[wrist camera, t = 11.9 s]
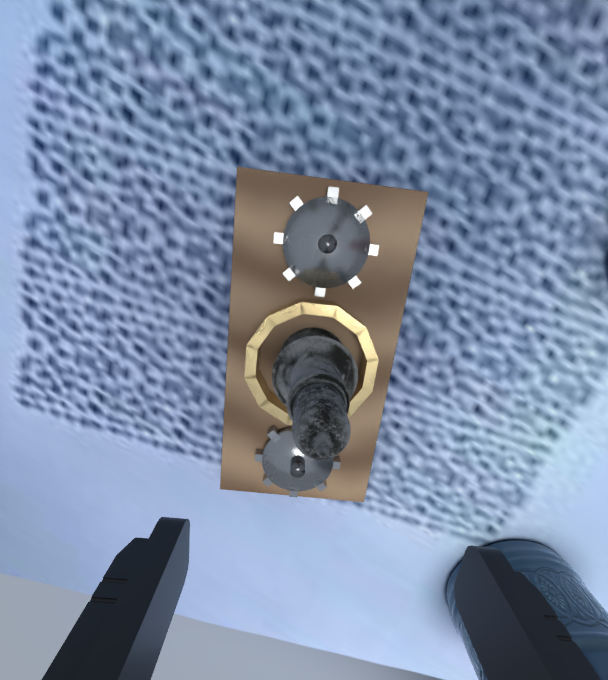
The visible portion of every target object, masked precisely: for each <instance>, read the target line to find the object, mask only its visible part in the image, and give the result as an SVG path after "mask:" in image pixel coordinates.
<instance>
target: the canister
mask: <svg viewBox="0 0 608 680" xmlns="http://www.w3.org/2000/svg"><path fill="white" fill-rule="evenodd" d="M486 547H491V548H497V549H499V550H500V551H501V552H502V553H503V554H504V556H505V557H506V559H507V560H508V562H509V563H510V565H511V566H512V568H513V569H514V571H515V572H521V573H522V574H523V575H524V576H525V577H526V578H527V579H528V580H529V581H530V582H531V583H532V584H533V585H534V586H535V587H536V588H537V589H538V590H539V591H540V592H541V593H542V594H543V596H544V597H545V599H546V600H547V601H548V603H549V604H550V606H551V607H552V609H553V610H554V612H555V613H556V615H557V616H558V617H557V618H558V620H559V621H561V622H562V623H563V625H564V626H565V628H566V629H567V631H568V632H569V634H570V635H571V636H572V637H571V638H572V641H573V642H576V644H577V645H578V647H579V648H580V650H581V651H582V652H583V654H584V655H585V657H586V658H587V660H588V661H589V663H590V664H591V666H592V667H593V668H594V670H595V671H596V673H597V674H598V676H599V677H600V679H601V680H608V613H607V612H606V611H605V610H604V608H603V607H602V606H601V605H600V604H599V602H598V601H597V600H596V599H595V598H594V596H593V595H592V594H591V593H590V592H589V590H588V589H587V588H586V587H585V585H584V583H583V581H582V579H581V578H580V577H579V575H578V574H577V573H576V572H575V571H574V570H573V569H572V567H571V566H570V565H569V564H568V563H567V562H565V561H564V560H563V559H561V558H560V557H559V556H558V555H557V554H556V553H555V552H554V551H552V550H551V549H549V548H548V547H546V546H544V545H541V544H538V543H535V542H530V541H520V540H514V541H504V542H499V543H495V544H491V545H488V546H486ZM461 563H462V562H461ZM461 563H460V564H459V565H458V566H457V567H456V568H455V570H454V571H453V573H452V574H451V576H450V578H449V581H448V584H447V589H446V597H447V601H448V604H449V611H450V615H451V618H452V620H453V622H454V626H455V628H456V630H457V632H458V634H459V635H460V637H461V638H462V641H463V643H464V645H465V648H466V650H467V653H468V655H469V658H470V660H471V662H472V665H473V667H474V670H475V672H476V675H477V677H478V680H487V677H486V675H485V673H484V670H483V668H482V666H481V663H480V661H479V659H478V656H477V654H476V652H475V649H474V647H473V645H472V642H471V640H470V637H469V635H468V633H467V630H466V628H465V626H464V623H463V621H462V619H461V616H460V614H459V612H458V609H457V606H456V602H455V597H454V583H455V580H456V577H457V574H458V571H459V568H460V565H461Z"/></svg>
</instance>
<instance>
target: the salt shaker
mask: <svg viewBox="0 0 608 680" xmlns="http://www.w3.org/2000/svg"><path fill="white" fill-rule="evenodd" d="M357 382H358V368H357V365H356V362H355V359H354V357H353V356H352V354H351V353H350V352H349V350H348V349H347V348H346V347H345V346H343V344H342V343H341V341H340V340H339V338H338V337H336V336H335V335H334V334H333V333H331V332H329V331H327V330H325V329H321V328H315V327H313V328H305V329H302V330H299V331H297V332H295V333H294V334H292V335H291V336H290V337H289V338H288V339H287V340H286V341H285V342H284V344H283V346H282V348H281V351H280V353H279V354H278V356H277V358H276V360H275V362H274V365H273V370H272V384H273V388H274V391H275V393H276V395H277V397H278V398H279V399H280V401H281V402H282V403H283V404H284V405H285V406H286V407H287V412H288V414H289V417H290V419H291V420H292V421H293V423H292V434H293V439H294V442H295V444H296V447H297V448H298V449H299V451H300V452H301V453H303V454H304V455H305V456H307V457H309V458H312V459H316V460H327V459H330V458H333V457H335V456H336V455H338V454H340V453H341V452H342V451H343V450H344V449H345V448H346V446H347V444H348V442H349V439H350V434H351V428H350V422H349V419H348V415H347V414H348V411H349V407H350V399H351V397H352V395H353V393H354V392H355V390H356V386H357Z"/></svg>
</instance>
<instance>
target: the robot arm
mask: <svg viewBox="0 0 608 680" xmlns="http://www.w3.org/2000/svg"><path fill="white" fill-rule="evenodd" d="M189 533H190V522H189V519H180V518H169V517H161V518H160V519H159V521H158V522H157V524H156V526H155V528H154V530H153V532H152V534H151V535H150V537H149V539H147V538H134V539H133V540H132V541H131V542H130V543H129V544H128V545H127V546H126V547H125V548H124V549H123V550H122V551H121V552H119V553H118V554H117V555H116V557H115V559H114V560H113V562H112V564H111V565H110V567H109V569H108V570H107V572H106V574H105V575H104V577H103V580H102V582H100V584H99V585H98V587H97V589H96V590H95V592H94V594H93V595H92V598H91V601H90V602H88V604H87V605H86V607H85V609H84V610H83V612H82V614H81V615H80V617H79V619H78V620H77V622H76V624H75V625H74V627H73V629H72V630H71V632H70V634H69V635H68V637H67V639H66V640H65V642H64V644H63V645H62V647H61V649H60V650H59V652H58V653H57V655H56V657H55V659H54V660H53V662H52V663H51V665H50V667H49V668H48V670H47V672H46V674H45V675H44V677H43V678H42V680H151V677H152V674H153V671H154V668H155V665H156V663H157V660H158V657H159V654H160V651H161V648H162V646H163V643H164V640H165V637H166V634H167V631H168V628H169V625H170V623H171V620H172V617H173V614H174V611H175V608H176V606H177V603H178V600H179V597H180V594H181V591H182V588H183V585H184V582H185V578H186V574H187V570H188V564H189ZM454 597H455V602H456V606H457V609H458V612H459V614H460V616H461V619H462V621H463V623H464V626H465V628H466V630H467V633H468V635H469V637H470V640H471V642H472V645H473V647H474V649H475V652H476V654H477V656H478V659H479V661H480V663H481V666H482V668H483V670H484V673H485V675H486V677H487V680H601V679H600V677H599V676H598V674H597V673H596V671H595V670H594V668H593V667H592V666H591V664H590V663H589V661H588V660H587V658H586V657H585V655H584V654H583V652H582V651H581V650H580V648H579V647H578V645H577V644H576V642H573V641H572V638H571V637H572V636H571V635H570V634H569V632H568V631H567V629H566V628H565V626H564V625H563V623H562V622H561V621H559V620H558V618H557V617H558V616H557V615H556V613H555V612H554V610H553V609H552V607H551V606H550V604H549V603H548V601H547V600H546V599H545V597H544V596H543V594H542V593H541V592H540V591H539V590H538V589H537V588H536V587H535V586H534V585H533V584H532V583H531V582H530V581H529V580H528V579H527V578H526V577H525V576H524V575H523V574H522V573H521V572H515V571H514V569H513V568H512V566H511V565H510V563H509V562H508V560H507V559H506V557H505V556H504V554H503V553H502V552H501V551H500V550H499V549H497V548H491V547H480V546H468V547H467V549H466V551H465V554H464V557H463V560H462V563H461V565H460V568H459V571H458V574H457V577H456V580H455V583H454Z"/></svg>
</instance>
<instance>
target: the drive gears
mask: <svg viewBox="0 0 608 680" xmlns="http://www.w3.org/2000/svg"><path fill="white" fill-rule="evenodd" d="M338 193H339V188H337V187H328V190H327V197H319V198H315V199H312V200H310V201H308V202H306V203H304V204H303V203H302V201H301V200H300V198H299V197H298V196H297V197H296V198H295V199H293V200H292V201H291V202H290V203H289V204H290V206H291V207H292V208H293V210H294V211H295V212H294V213H293V214H292V216H291V217H290V219H289V220H288V222H287V225H286V227H285V230H284V233H274V243H276V244H283V252H284V257H285V259H286V262H287V264H288V266H289V268H288V269H287V270H286V271H284V272H283V275H284V276H285V277H286V278H287V280H288V281H290V280H291V279H292V278H294V277H295V276H296V277H298V278H299V279H300V280H301V281H303V282H304V283H306V284H308V285H311V286H314V287H315V293H314V295H315V296H321V297H324V296H325V289H326V288H333V287H338V286H340V285H343V284H345V283H347V282H348V284H349V285H350V286H351V288H355V287H356V286H357V285H359V284H360V283H361V282H360V281H359V279H358V278H357V277H356V275H357V274H358V273H359V272H360V270H361V269H362V268H363V266H364V264H365V262H366V260H367V257H368V255H374V256H377V254H378V248H379V245H372V244H370V234H369V229H368V226H367V223H366V221H365V219H367V218H368V217H369V216H370V215H371V214H372V212H371V211H370V209H369V208H368V206H367V205H365V206H364V207H363V208H362V209H360V210H359V211H358V210H357V209H356V208H355V207H354V206H353V205H351V204H350V203H348V202H347V201H345V200H342V199H339V198H338ZM267 435H268V436H269V439H268V440H267V442H266V444H265V447H264V449H258V448H257V449H256V453H255V461H256V462H262V466H263V470H264V472H265V474H264V475H263V481H262V482H263V483H264V484H265V485H266V486H267V487H268V486H270V485H271V484H273V483H274V484H275V485H277V486H278V487H280V488H283V489H285V490H289V497H297V495H298V491H306V490H310V489H313V488H315V487H317V488H318V490H319V491H320V492H321V491H322V490H324V489H325V488H327V483H326V479H327V478H328V476H329V475H330V473H331V471H332V469H340V464H341V461H340V456H335V457H333V458H330V459H327V460H316V459H312V458H309V457H307V456H305V455H304V454H303V453H301V452H300V451H299V449H298V448H297V447H296V444H295V442H294V439H293V434H292V426H287V427H284V428H282V429H280V430H279V429H278V428H277V427H276V426H275V425H273V426H272V427H270V428H269V429H268V431H267Z"/></svg>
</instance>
